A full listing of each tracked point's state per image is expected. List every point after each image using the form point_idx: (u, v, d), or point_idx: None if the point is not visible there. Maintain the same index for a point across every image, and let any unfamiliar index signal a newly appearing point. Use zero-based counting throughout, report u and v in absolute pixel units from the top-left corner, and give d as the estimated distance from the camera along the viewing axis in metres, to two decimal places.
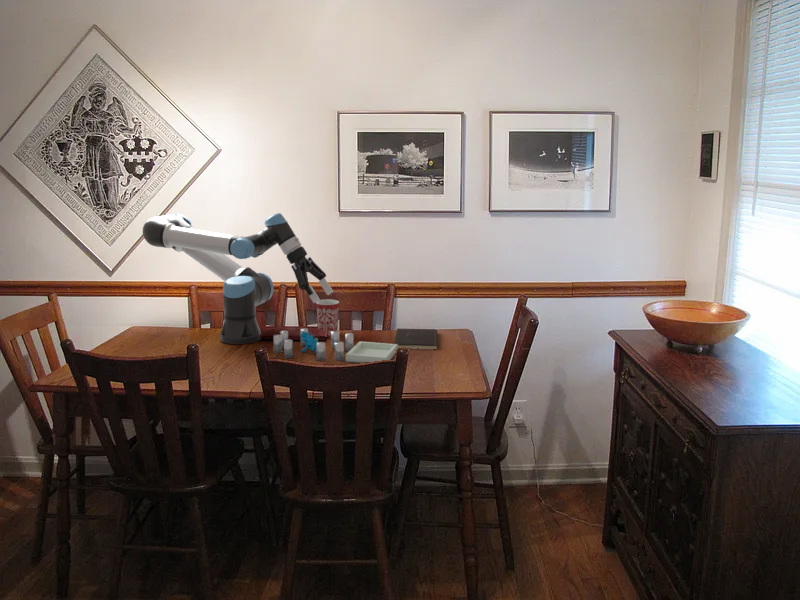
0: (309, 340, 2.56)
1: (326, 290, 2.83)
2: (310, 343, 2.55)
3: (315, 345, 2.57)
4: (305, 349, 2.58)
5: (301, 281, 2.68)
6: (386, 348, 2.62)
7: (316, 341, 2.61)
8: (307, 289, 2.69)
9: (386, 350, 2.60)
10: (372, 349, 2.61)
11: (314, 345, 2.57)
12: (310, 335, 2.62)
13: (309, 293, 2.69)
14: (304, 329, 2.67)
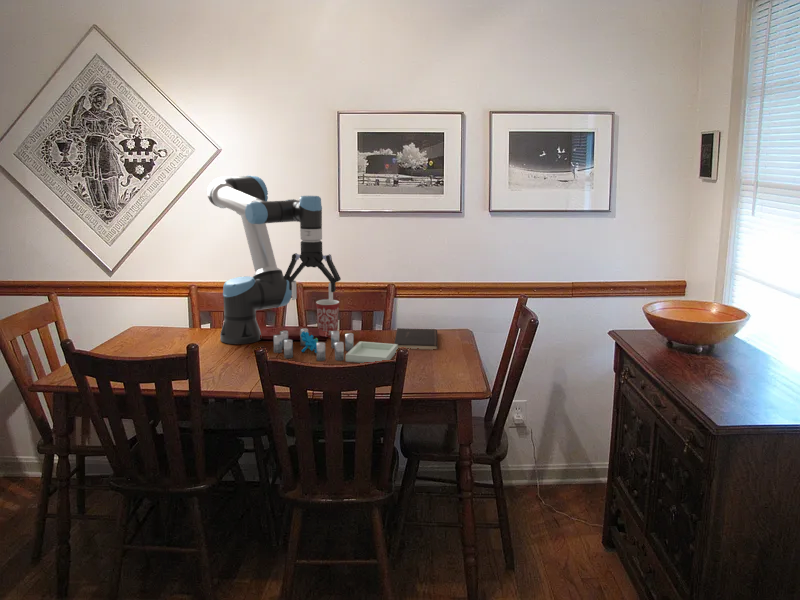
0: (309, 340, 2.56)
1: None
2: (310, 343, 2.55)
3: (315, 345, 2.57)
4: (305, 349, 2.58)
5: None
6: (386, 348, 2.62)
7: (316, 341, 2.61)
8: None
9: (386, 350, 2.60)
10: (372, 349, 2.61)
11: (314, 345, 2.57)
12: (310, 335, 2.62)
13: None
14: (304, 329, 2.67)
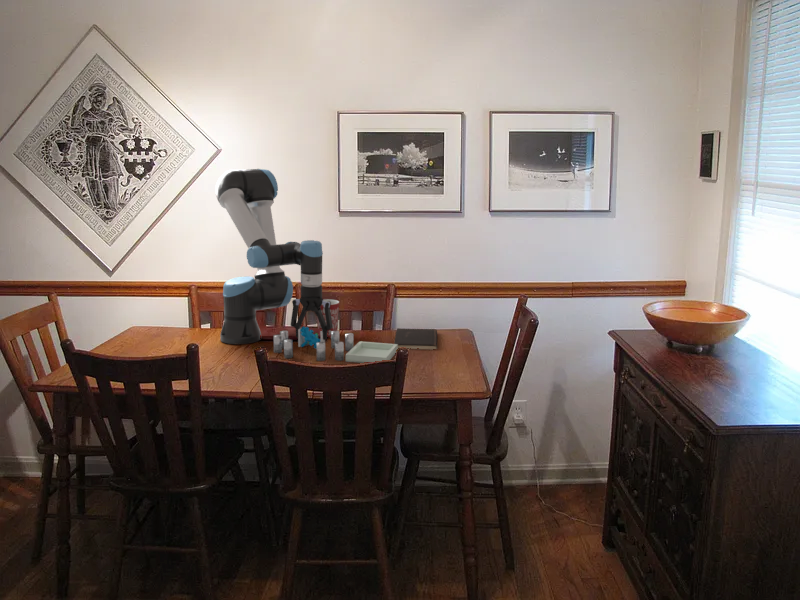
0: (308, 335, 2.57)
1: None
2: (309, 338, 2.55)
3: (314, 340, 2.58)
4: (304, 344, 2.59)
5: None
6: (386, 348, 2.62)
7: (316, 336, 2.61)
8: None
9: (386, 350, 2.60)
10: (372, 349, 2.61)
11: (313, 340, 2.57)
12: (310, 330, 2.62)
13: None
14: None
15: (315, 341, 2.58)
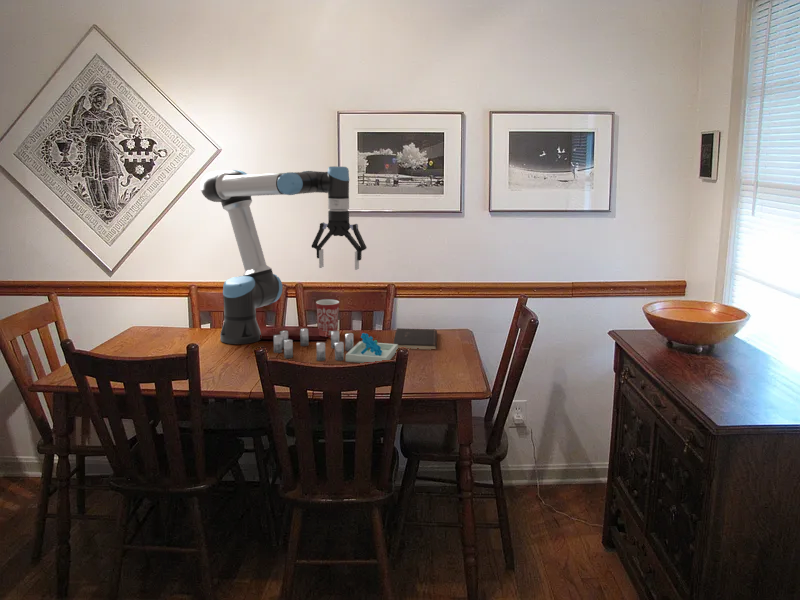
0: (369, 342, 2.53)
1: None
2: (370, 345, 2.51)
3: (375, 347, 2.54)
4: (365, 351, 2.55)
5: None
6: (386, 348, 2.62)
7: (375, 343, 2.57)
8: None
9: (386, 350, 2.60)
10: None
11: (374, 347, 2.53)
12: (369, 337, 2.58)
13: None
14: (304, 329, 2.67)
15: (376, 348, 2.54)
